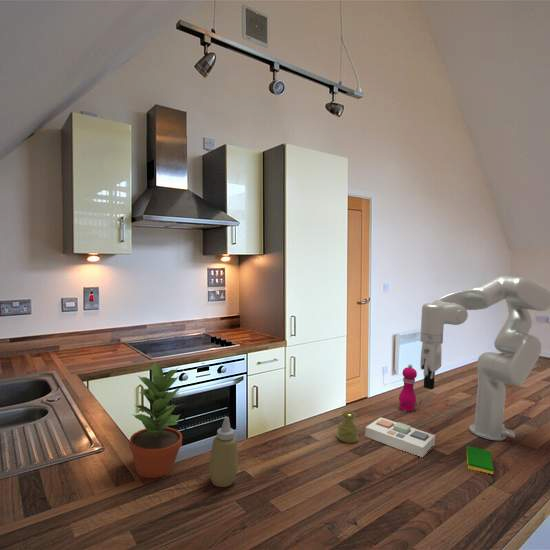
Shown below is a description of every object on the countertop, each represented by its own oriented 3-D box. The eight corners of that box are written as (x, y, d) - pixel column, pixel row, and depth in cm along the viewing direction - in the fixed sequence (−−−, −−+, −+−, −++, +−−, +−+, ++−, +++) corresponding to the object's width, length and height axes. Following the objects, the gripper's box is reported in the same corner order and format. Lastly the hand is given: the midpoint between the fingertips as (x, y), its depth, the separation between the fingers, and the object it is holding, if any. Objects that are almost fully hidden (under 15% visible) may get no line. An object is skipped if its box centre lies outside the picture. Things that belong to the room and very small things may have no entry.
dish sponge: (489, 457, 134) (490, 450, 134) (493, 477, 122) (493, 469, 122) (466, 452, 137) (466, 445, 137) (467, 470, 125) (468, 463, 125)
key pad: (434, 445, 140) (435, 434, 140) (422, 457, 130) (422, 446, 130) (380, 426, 153) (381, 416, 153) (364, 436, 143) (365, 426, 143)
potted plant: (153, 490, 103) (160, 376, 101) (116, 469, 111) (122, 364, 109) (194, 466, 115) (200, 365, 114) (158, 449, 123) (163, 355, 122)
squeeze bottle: (213, 493, 103) (217, 425, 102) (203, 476, 110) (207, 413, 109) (241, 486, 107) (246, 421, 106) (230, 471, 114) (235, 410, 113)
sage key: (410, 433, 143) (410, 426, 143) (405, 437, 139) (406, 429, 139) (397, 429, 146) (398, 422, 146) (392, 433, 142) (393, 425, 142)
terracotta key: (392, 430, 147) (393, 422, 147) (387, 434, 143) (388, 426, 143) (381, 426, 150) (382, 419, 150) (376, 430, 146) (376, 422, 146)
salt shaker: (334, 440, 138) (336, 412, 138) (339, 432, 145) (341, 405, 145) (355, 445, 135) (357, 417, 135) (359, 436, 142) (361, 409, 142)
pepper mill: (412, 413, 168) (416, 367, 167) (395, 408, 173) (399, 363, 172) (417, 409, 174) (421, 364, 173) (401, 404, 178) (405, 361, 177)
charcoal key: (427, 442, 139) (428, 434, 139) (423, 447, 135) (424, 438, 135) (414, 438, 142) (415, 430, 142) (410, 442, 138) (410, 434, 138)
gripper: (436, 343, 133) (433, 396, 134) (448, 336, 145) (445, 385, 146) (414, 339, 138) (411, 390, 139) (427, 333, 150) (424, 380, 151)
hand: (428, 387), depth 143 cm, fingers closed
